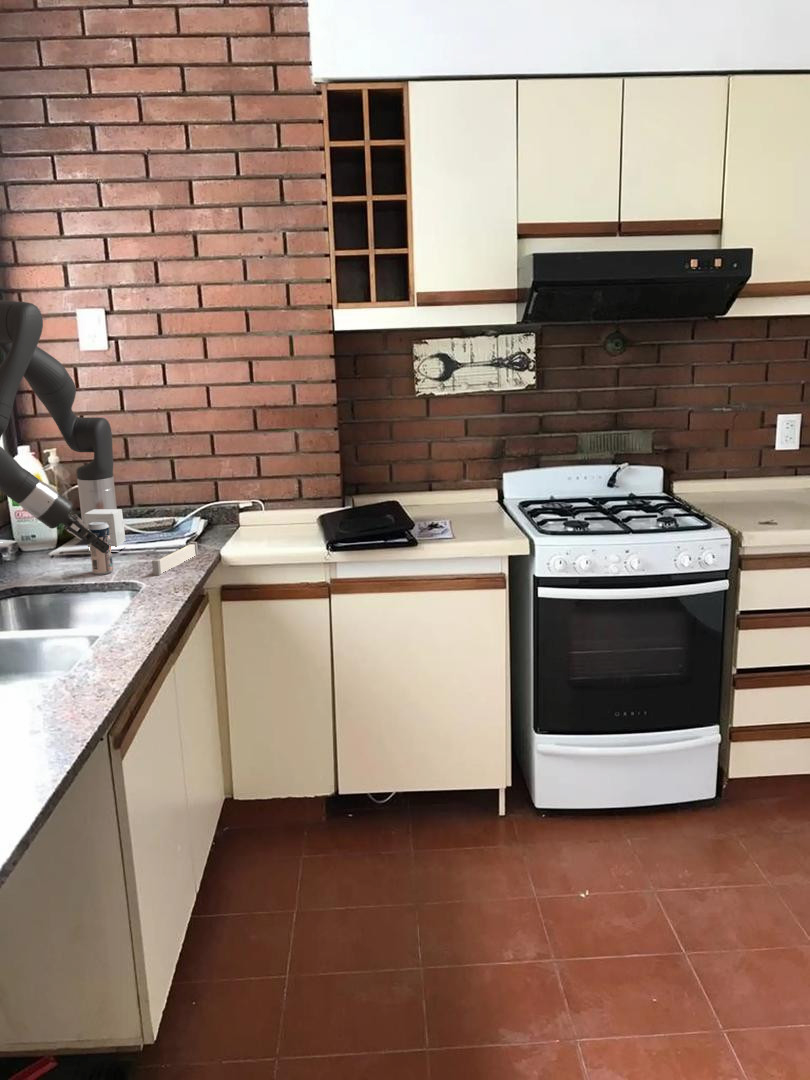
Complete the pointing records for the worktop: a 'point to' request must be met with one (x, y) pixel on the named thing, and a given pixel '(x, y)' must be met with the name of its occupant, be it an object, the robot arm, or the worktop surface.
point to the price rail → (174, 558)
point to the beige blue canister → (99, 559)
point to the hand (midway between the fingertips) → (103, 546)
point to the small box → (109, 523)
